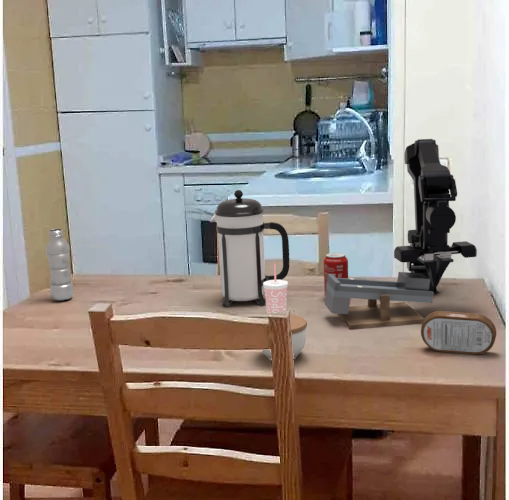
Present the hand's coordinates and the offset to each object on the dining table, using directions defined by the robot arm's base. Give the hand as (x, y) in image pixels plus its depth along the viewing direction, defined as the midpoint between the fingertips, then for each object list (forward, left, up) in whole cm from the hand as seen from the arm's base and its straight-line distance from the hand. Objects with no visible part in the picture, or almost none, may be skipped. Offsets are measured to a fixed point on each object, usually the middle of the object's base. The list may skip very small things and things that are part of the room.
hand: (434, 286), depth 171 cm
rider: (+6, 0, -1) cm, 6 cm away
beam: (+15, 0, -5) cm, 16 cm away
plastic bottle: (+94, -38, -7) cm, 102 cm away
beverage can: (+20, -18, -7) cm, 28 cm away
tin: (+5, +26, -7) cm, 27 cm away
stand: (+14, 0, -7) cm, 16 cm away
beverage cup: (+38, -6, -7) cm, 39 cm away
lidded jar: (+41, +20, -7) cm, 46 cm away
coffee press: (+43, -23, -7) cm, 49 cm away
